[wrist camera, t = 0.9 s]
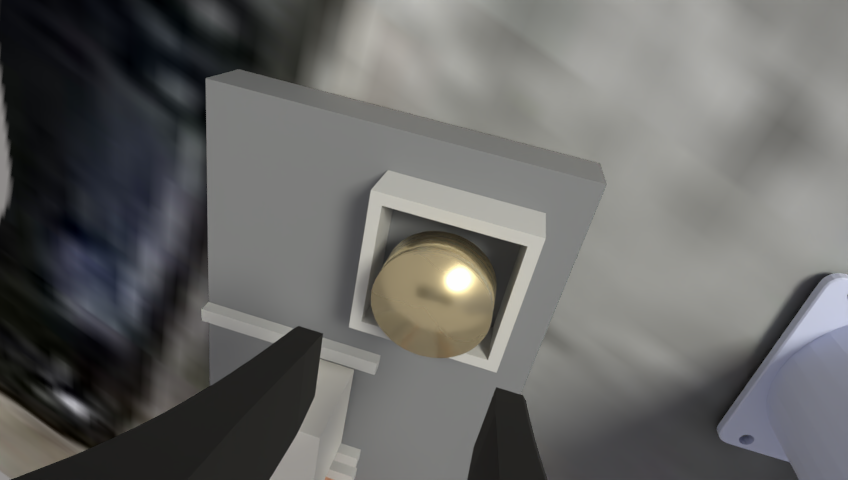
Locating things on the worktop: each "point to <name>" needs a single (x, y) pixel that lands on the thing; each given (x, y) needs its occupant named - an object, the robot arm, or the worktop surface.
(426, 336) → the brass button
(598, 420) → the worktop surface
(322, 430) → the ivory rectangular block
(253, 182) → the switch panel
